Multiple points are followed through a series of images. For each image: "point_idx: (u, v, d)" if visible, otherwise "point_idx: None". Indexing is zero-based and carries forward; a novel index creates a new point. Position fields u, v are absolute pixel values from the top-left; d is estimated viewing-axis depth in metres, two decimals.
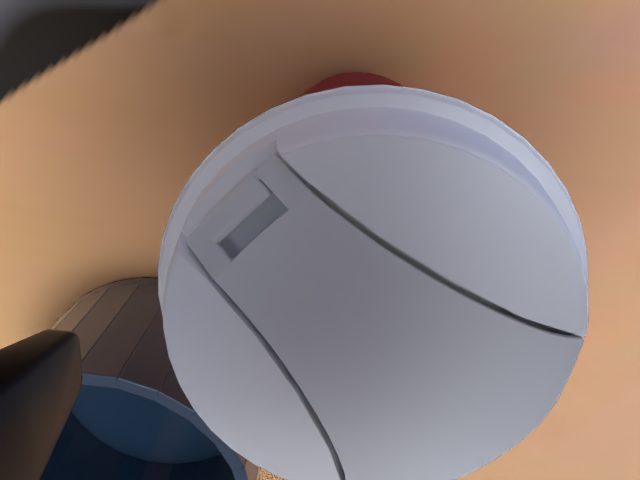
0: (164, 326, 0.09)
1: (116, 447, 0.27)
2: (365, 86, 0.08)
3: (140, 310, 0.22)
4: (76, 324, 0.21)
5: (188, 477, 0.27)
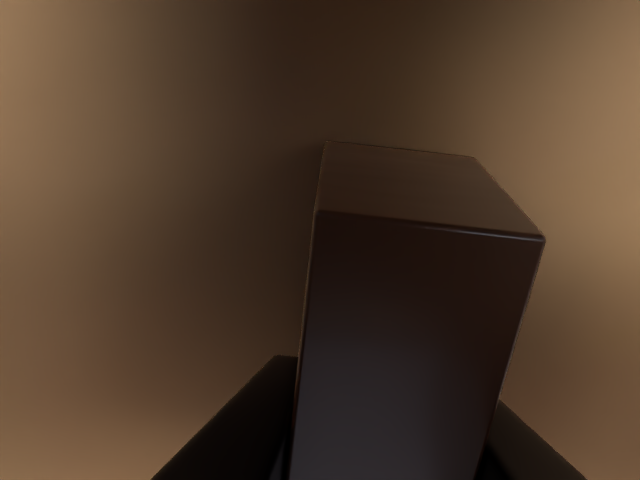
0: None
1: None
2: None
3: None
4: None
5: None
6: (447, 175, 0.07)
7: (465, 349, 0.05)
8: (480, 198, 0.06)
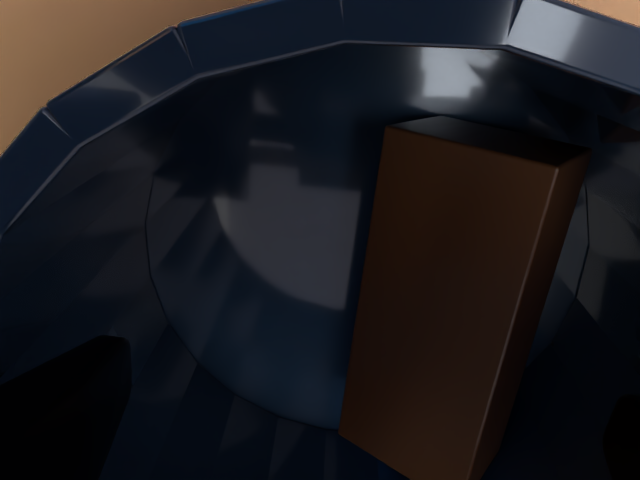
0: None
1: None
2: None
3: None
4: None
5: (518, 410, 0.13)
6: (485, 130, 0.10)
7: (565, 224, 0.10)
8: (531, 138, 0.10)
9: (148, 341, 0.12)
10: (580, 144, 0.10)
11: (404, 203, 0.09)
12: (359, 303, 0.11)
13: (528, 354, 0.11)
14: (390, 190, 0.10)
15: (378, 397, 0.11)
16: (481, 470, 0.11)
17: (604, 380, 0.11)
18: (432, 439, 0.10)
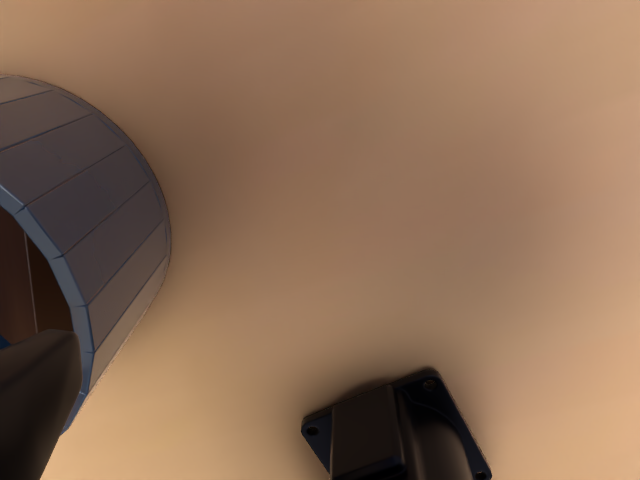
0: None
1: None
2: None
3: None
4: None
5: None
6: None
7: None
8: None
9: None
10: None
11: None
12: None
13: None
14: None
15: (5, 307, 0.19)
16: None
17: None
18: (24, 329, 0.18)
